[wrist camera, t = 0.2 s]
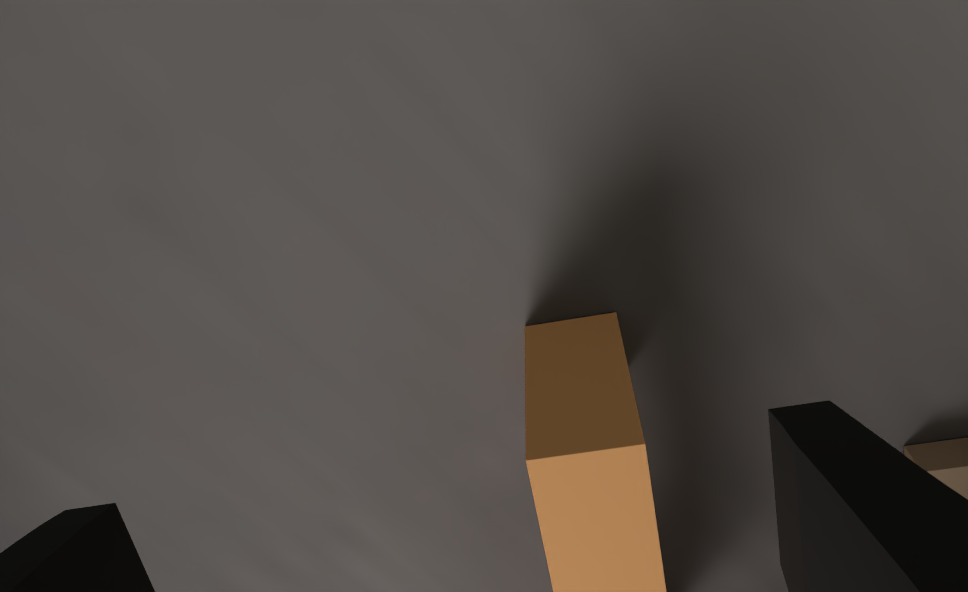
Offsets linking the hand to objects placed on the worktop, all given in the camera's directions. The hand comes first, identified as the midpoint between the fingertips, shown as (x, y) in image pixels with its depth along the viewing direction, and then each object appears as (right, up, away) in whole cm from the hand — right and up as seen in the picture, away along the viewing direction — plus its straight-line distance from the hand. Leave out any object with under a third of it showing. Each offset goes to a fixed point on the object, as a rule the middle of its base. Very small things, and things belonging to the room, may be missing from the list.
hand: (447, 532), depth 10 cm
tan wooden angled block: (+3, -2, +11) cm, 12 cm away
